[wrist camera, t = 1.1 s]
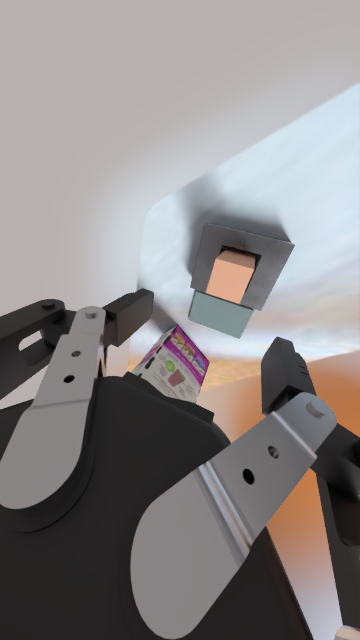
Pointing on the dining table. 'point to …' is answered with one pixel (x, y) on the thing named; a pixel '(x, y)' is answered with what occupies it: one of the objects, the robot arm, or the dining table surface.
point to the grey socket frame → (269, 249)
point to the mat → (219, 314)
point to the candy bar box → (174, 366)
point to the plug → (231, 275)
